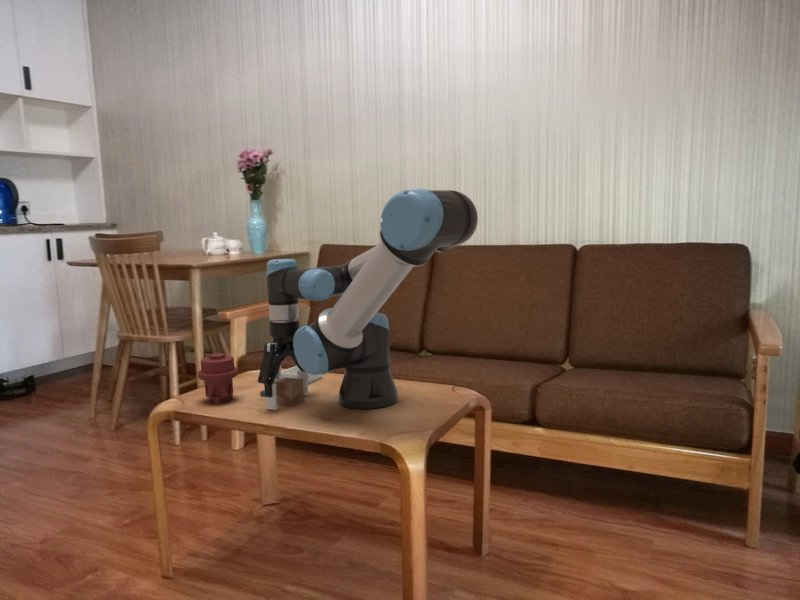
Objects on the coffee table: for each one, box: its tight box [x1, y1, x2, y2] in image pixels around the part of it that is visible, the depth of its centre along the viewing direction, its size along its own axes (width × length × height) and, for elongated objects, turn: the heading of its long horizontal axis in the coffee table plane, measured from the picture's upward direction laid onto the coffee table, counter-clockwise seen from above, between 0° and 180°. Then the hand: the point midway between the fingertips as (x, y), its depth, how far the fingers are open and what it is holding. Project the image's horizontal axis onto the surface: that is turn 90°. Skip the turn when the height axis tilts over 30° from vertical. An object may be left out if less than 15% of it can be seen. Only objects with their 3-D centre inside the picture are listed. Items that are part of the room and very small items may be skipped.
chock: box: [274, 377, 305, 408], centre depth 161 cm, size 6×5×6 cm
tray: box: [281, 365, 323, 385], centre depth 183 cm, size 9×9×3 cm
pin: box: [274, 364, 282, 381], centre depth 169 cm, size 3×3×12 cm
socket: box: [259, 389, 266, 398], centre depth 169 cm, size 6×6×1 cm
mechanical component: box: [197, 352, 239, 405], centre depth 164 cm, size 12×10×10 cm
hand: (288, 401), depth 161 cm, fingers open, 13 cm apart
